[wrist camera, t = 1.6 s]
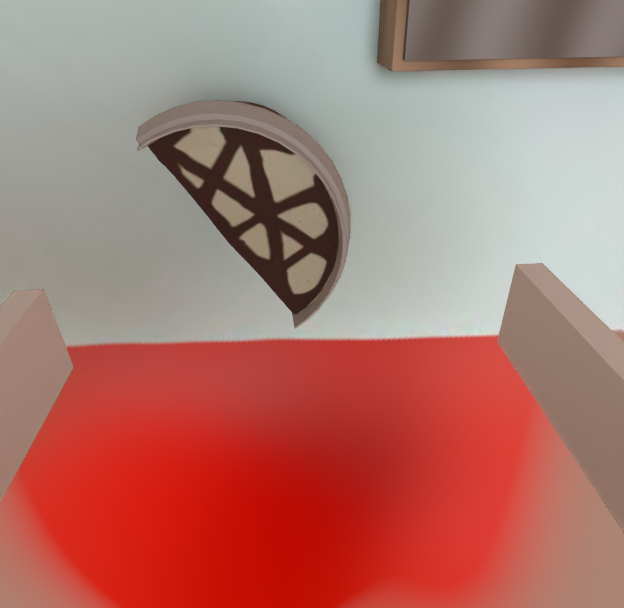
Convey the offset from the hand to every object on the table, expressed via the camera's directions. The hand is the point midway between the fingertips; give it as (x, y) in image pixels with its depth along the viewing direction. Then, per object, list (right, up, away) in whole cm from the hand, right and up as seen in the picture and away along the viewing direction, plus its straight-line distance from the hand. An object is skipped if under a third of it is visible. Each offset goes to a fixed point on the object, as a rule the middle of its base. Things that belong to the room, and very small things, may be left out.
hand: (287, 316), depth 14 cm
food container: (-1, +10, +16) cm, 19 cm away
